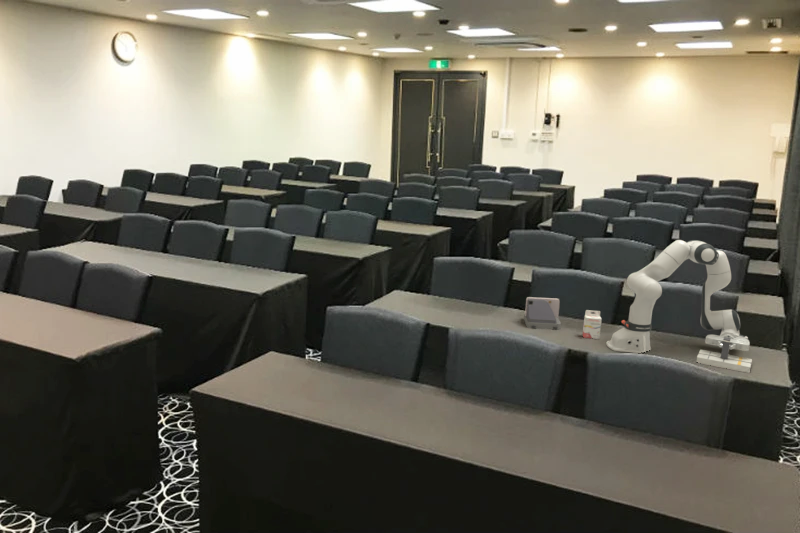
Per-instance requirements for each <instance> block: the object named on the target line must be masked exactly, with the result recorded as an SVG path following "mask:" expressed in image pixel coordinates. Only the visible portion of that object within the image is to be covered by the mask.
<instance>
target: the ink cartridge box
mask: <svg viewBox="0 0 800 533" xmlns="http://www.w3.org/2000/svg"><path fill="white" fill-rule="evenodd" d="M583 318H584V320H583V327H582V336H583V339H592V338H593V339H595V340H600V337H601V336H600V335H601V328H602V320H603V319H602V317H601V311H600V310H589V309H586V310H585V313H584V317H583Z"/></svg>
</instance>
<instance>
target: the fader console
mask: <svg viewBox="0 0 800 533" xmlns="http://www.w3.org/2000/svg"><path fill="white" fill-rule="evenodd" d="M720 357H721V352H715V351H711V350H705V349H701V348H700V350H699V352H698V354H697V356H696V361H695V362H698V363H697V364H700V363H701V364H700V365H706V366H710V365H711V366H712V367H717V368H722V369H726V368H727V369H726V370H732V371H736V372H742V373H747V374H750V372H751V367H752V362H753V359H752V358H748V357H743V356H737V355H733V354H728V359H724V358H720ZM711 366H710V367H711Z"/></svg>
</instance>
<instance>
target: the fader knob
mask: <svg viewBox="0 0 800 533" xmlns="http://www.w3.org/2000/svg"><path fill="white" fill-rule="evenodd" d="M730 341H731V338H728V337H724V339H723V346H722V348H721V352H720V353H721V357H720V358H724V359H728V355H730V349H729V346H730Z"/></svg>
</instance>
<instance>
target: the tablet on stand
mask: <svg viewBox="0 0 800 533" xmlns="http://www.w3.org/2000/svg"><path fill="white" fill-rule="evenodd" d="M560 303H561V302H560V298H556V297H555V298H554V297H553V298H551V297H532V296H527V297H526V299H525V311H524V312H523V313H524V314H523V321H524V323H525V325H526V327H527V328H528V329H535V330H536V329H539V330H540V329H541V330H557V331H559V330H561V328H562V322H561V321H560V319H559V315H560V314H559V313H560Z"/></svg>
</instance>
